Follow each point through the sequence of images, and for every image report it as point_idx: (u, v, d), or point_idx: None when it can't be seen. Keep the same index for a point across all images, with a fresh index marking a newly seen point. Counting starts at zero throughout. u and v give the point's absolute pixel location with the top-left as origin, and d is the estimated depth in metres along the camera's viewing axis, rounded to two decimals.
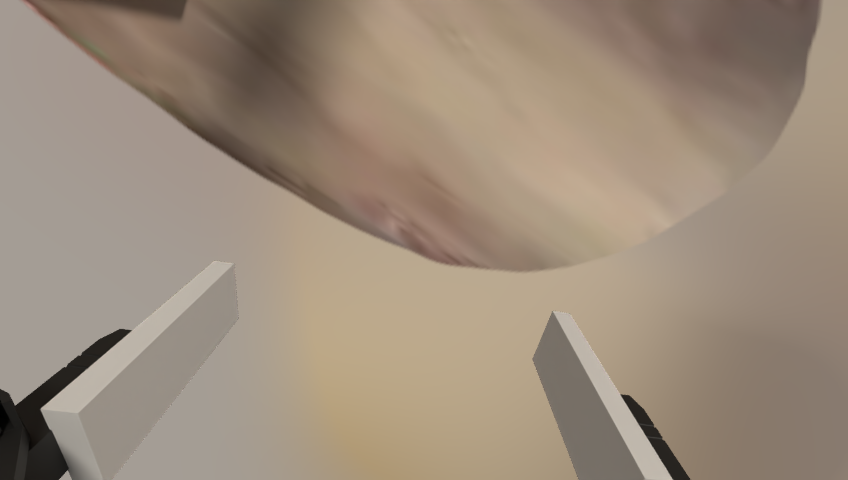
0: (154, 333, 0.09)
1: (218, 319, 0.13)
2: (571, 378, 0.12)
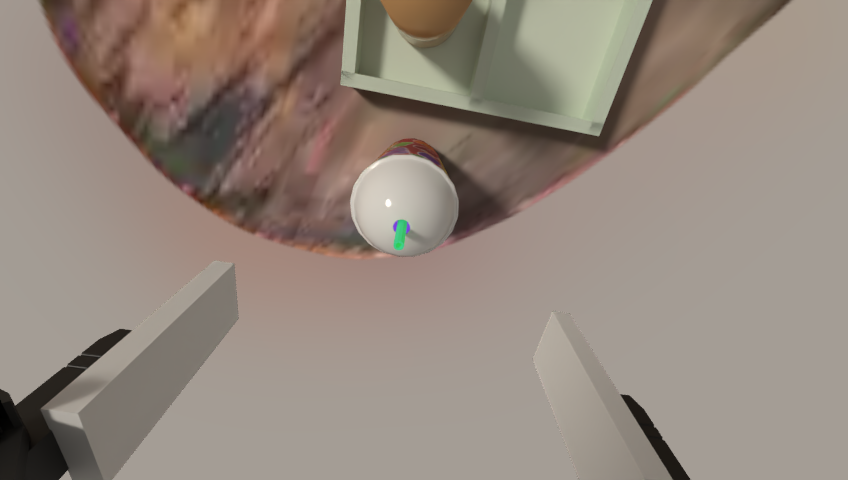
0: (154, 333, 0.09)
1: (218, 319, 0.13)
2: (571, 379, 0.12)
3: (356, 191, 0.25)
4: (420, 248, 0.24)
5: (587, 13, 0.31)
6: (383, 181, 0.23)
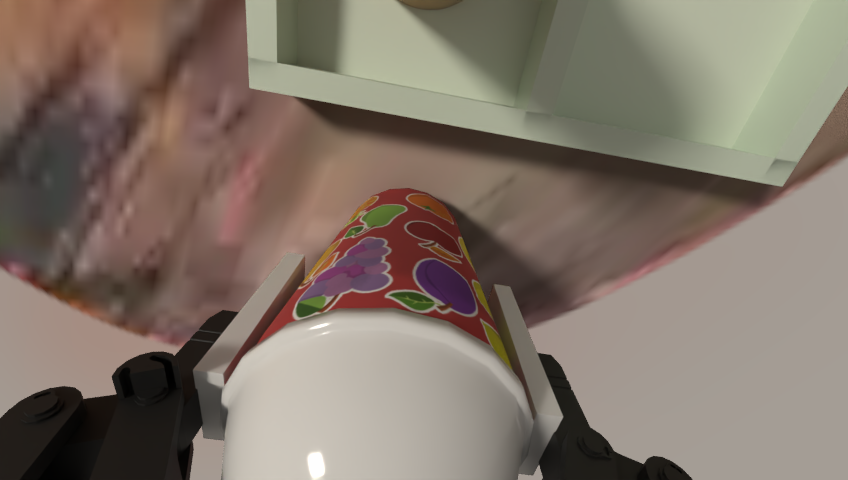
0: (259, 312, 0.11)
1: None
2: None
3: (228, 412, 0.08)
4: None
5: None
6: (284, 443, 0.06)
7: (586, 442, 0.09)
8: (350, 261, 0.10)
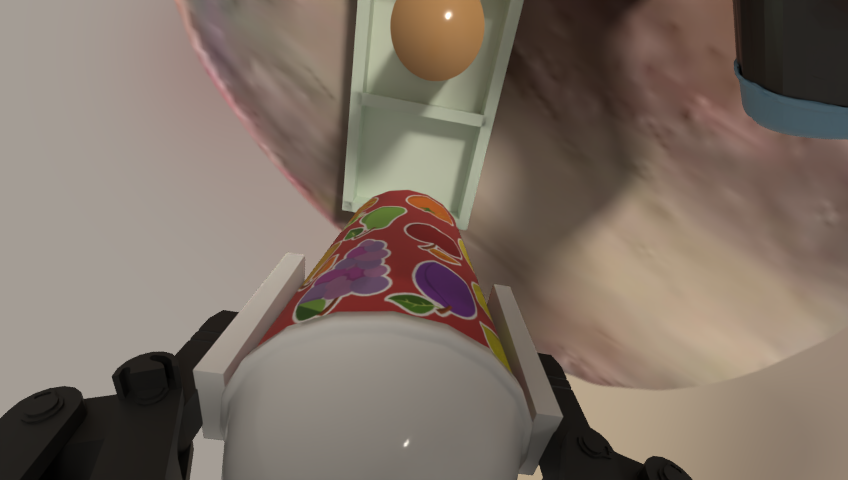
0: (259, 312, 0.11)
1: None
2: (501, 341, 0.13)
3: (227, 415, 0.08)
4: None
5: (429, 185, 0.42)
6: (283, 446, 0.06)
7: (586, 442, 0.09)
8: (350, 264, 0.10)
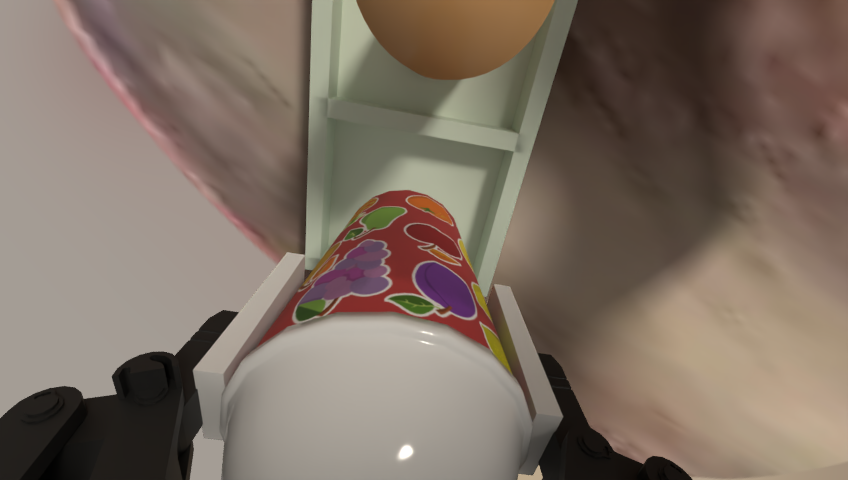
0: (259, 312, 0.11)
1: None
2: (501, 341, 0.13)
3: (227, 415, 0.08)
4: None
5: None
6: (283, 447, 0.06)
7: (586, 442, 0.09)
8: (350, 264, 0.10)
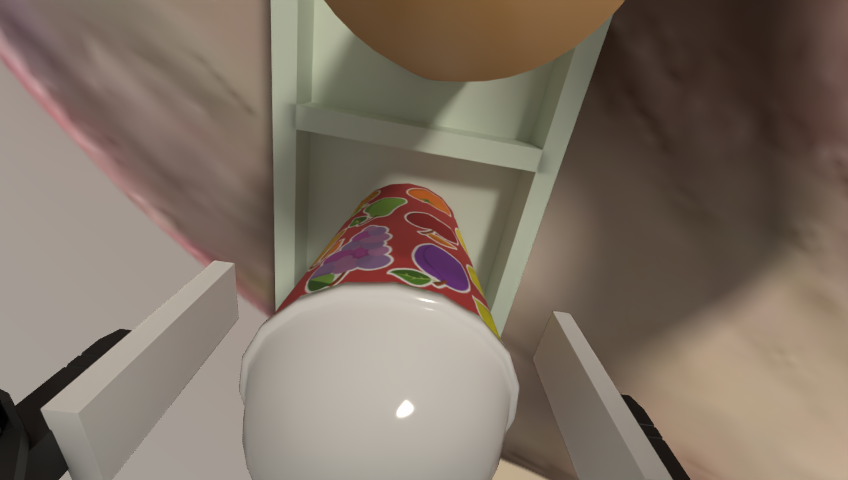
0: (154, 333, 0.09)
1: (218, 319, 0.13)
2: (571, 378, 0.12)
3: (247, 375, 0.09)
4: None
5: None
6: (300, 391, 0.07)
7: None
8: (355, 245, 0.11)
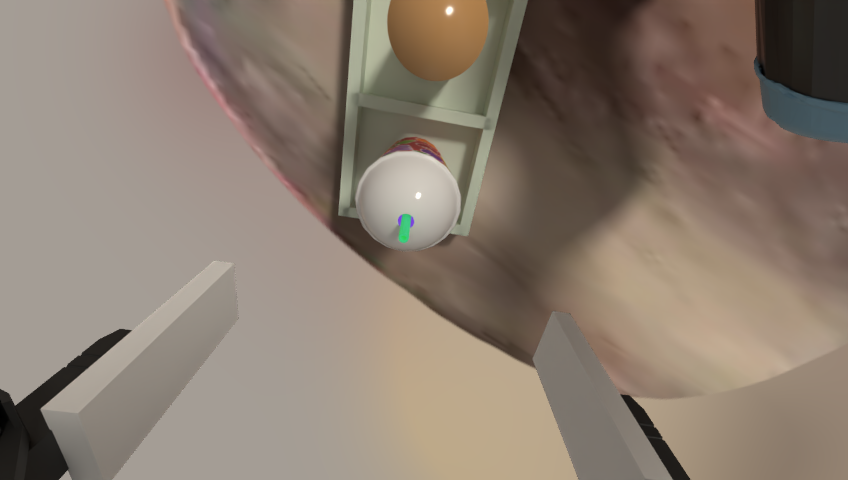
0: (154, 333, 0.09)
1: (218, 319, 0.13)
2: (572, 378, 0.12)
3: (361, 187, 0.26)
4: (423, 242, 0.25)
5: None
6: (387, 176, 0.24)
7: None
8: (396, 148, 0.28)
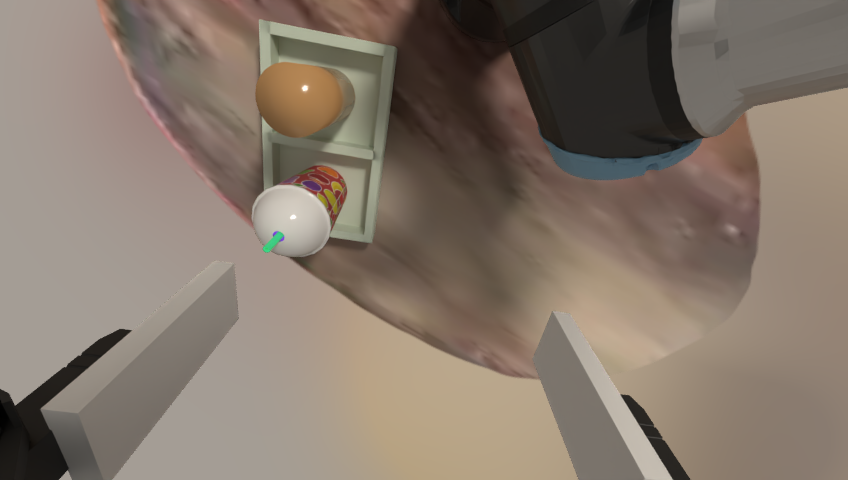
0: (154, 333, 0.09)
1: (218, 319, 0.13)
2: (571, 378, 0.12)
3: (254, 210, 0.35)
4: (297, 251, 0.35)
5: None
6: (266, 204, 0.33)
7: None
8: (286, 180, 0.37)
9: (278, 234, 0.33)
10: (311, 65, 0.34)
